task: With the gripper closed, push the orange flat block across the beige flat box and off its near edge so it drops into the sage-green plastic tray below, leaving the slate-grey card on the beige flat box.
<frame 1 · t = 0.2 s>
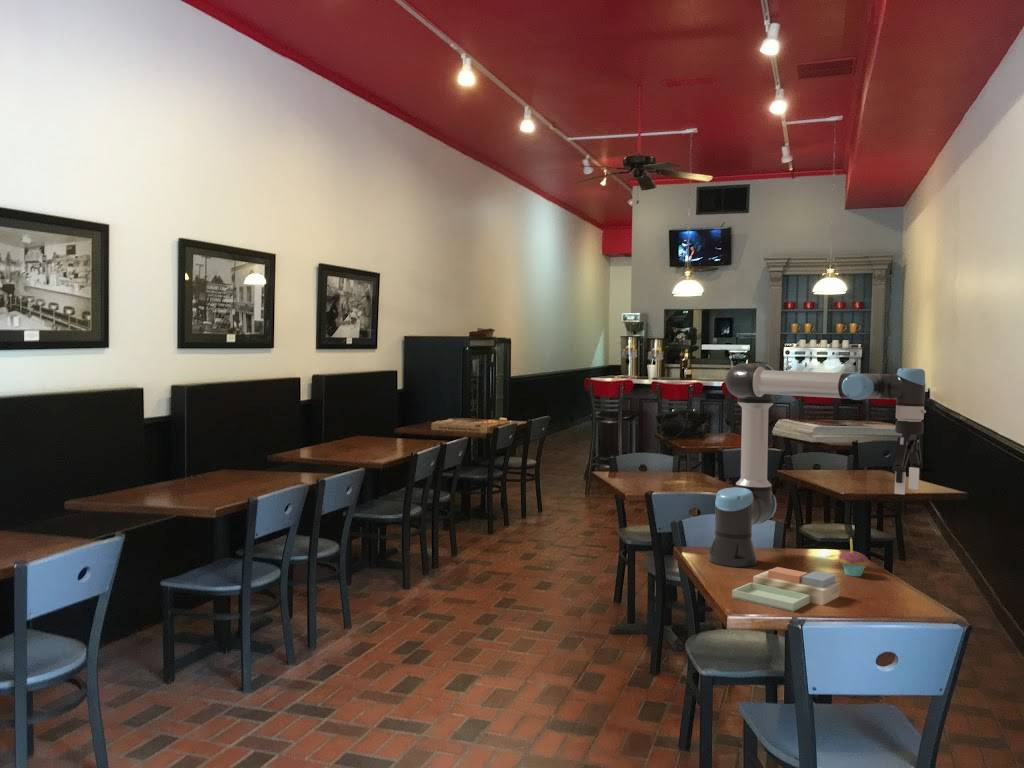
hand: (906, 491, 245), 28 cm above the table, fingers open, 13 cm apart
tray: (770, 600, 226), on the table
orange flat block: (787, 575, 234), point 5 cm above the table, touching beige flat box
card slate: (818, 579, 230), point 5 cm above the table, touching beige flat box
cupcake: (852, 575, 256), on the table
beige flat box: (795, 593, 233), on the table
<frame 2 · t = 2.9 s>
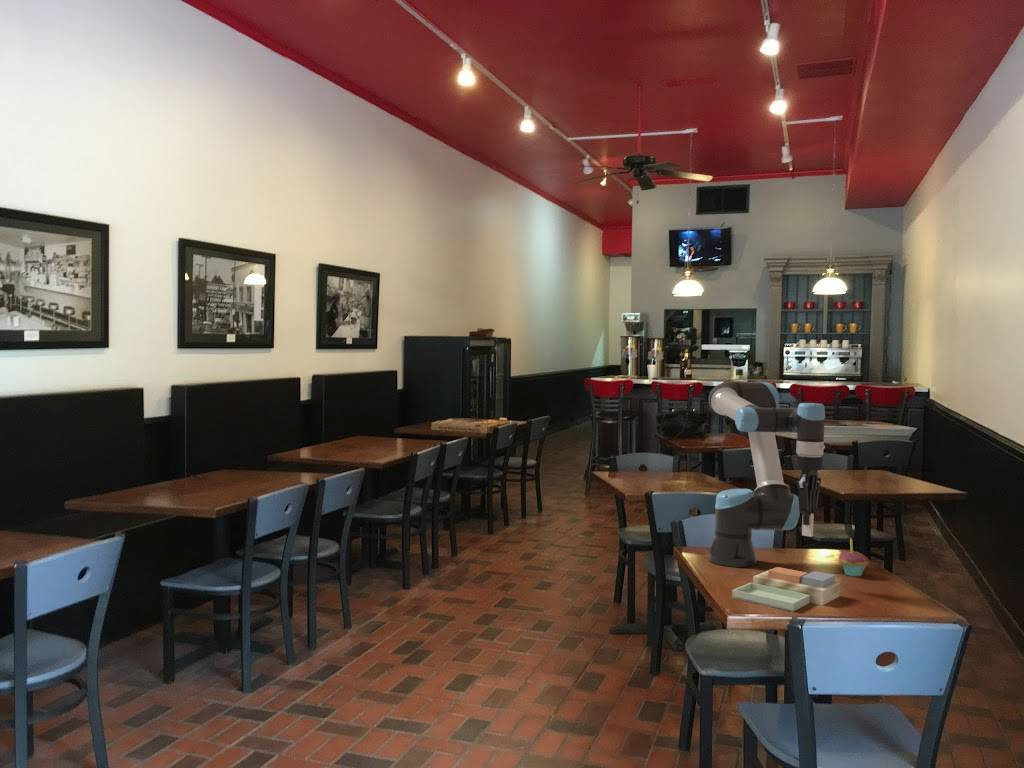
hand: (807, 535, 242), 14 cm above the table, fingers closed
nothing on the table moved.
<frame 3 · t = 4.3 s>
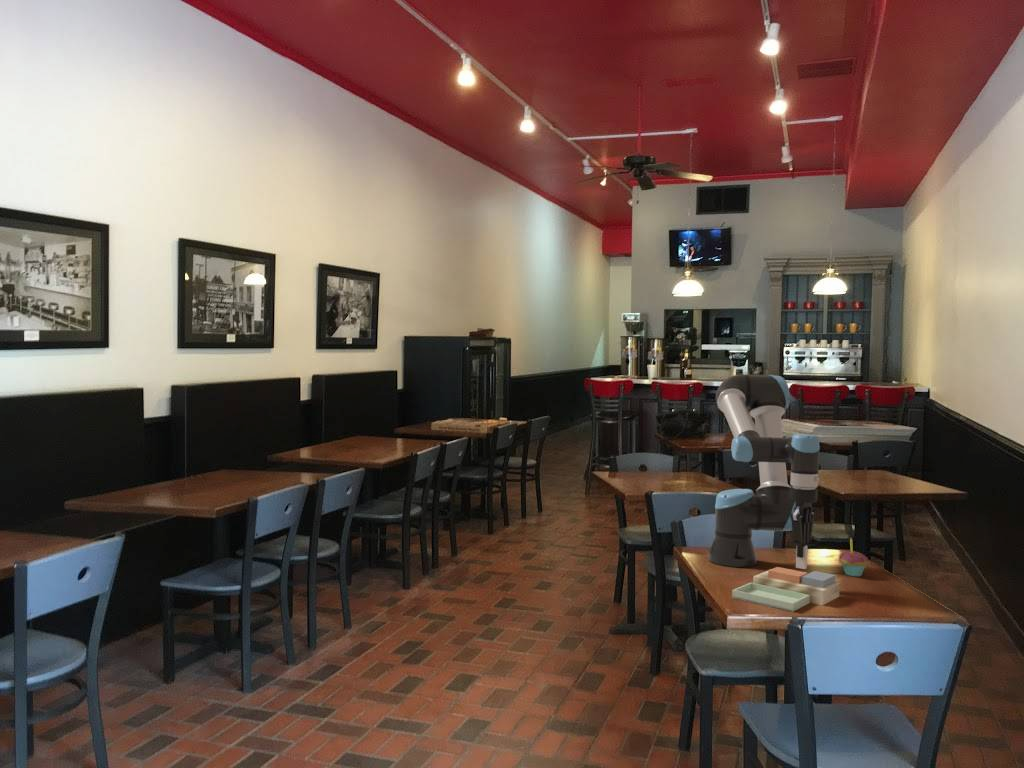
hand: (801, 567, 240), 5 cm above the table, fingers closed
nothing on the table moved.
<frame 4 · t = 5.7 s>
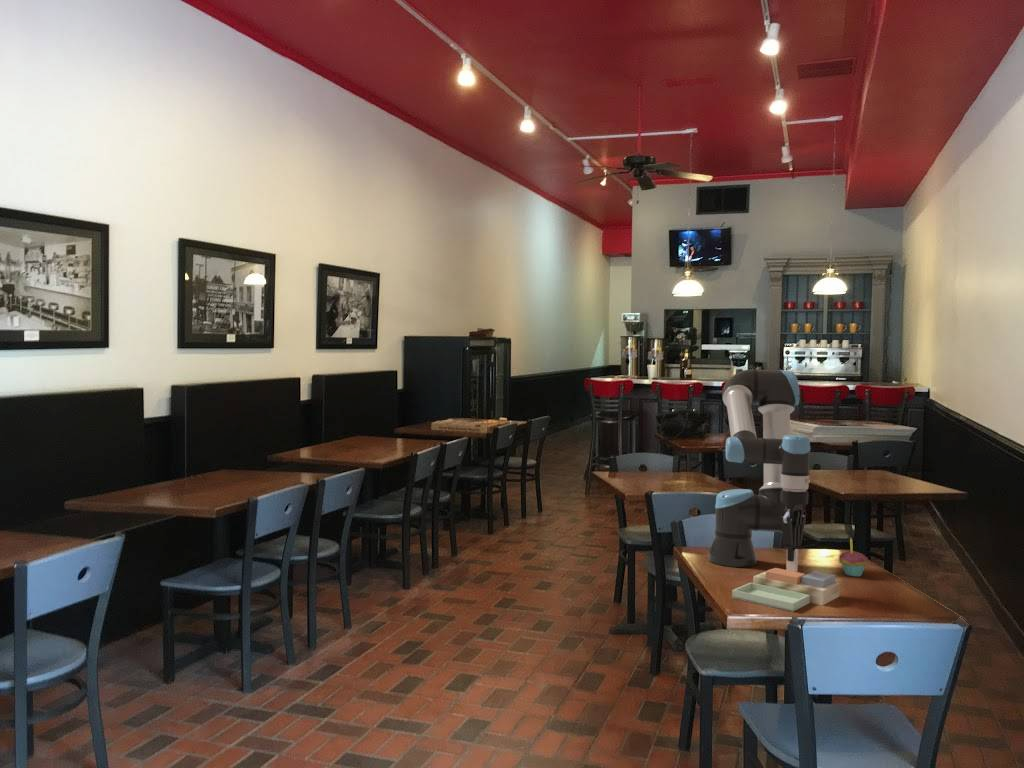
hand: (791, 571, 235), 6 cm above the table, fingers closed
orange flat block: (785, 576, 232), point 5 cm above the table, touching beige flat box
everything else where it was.
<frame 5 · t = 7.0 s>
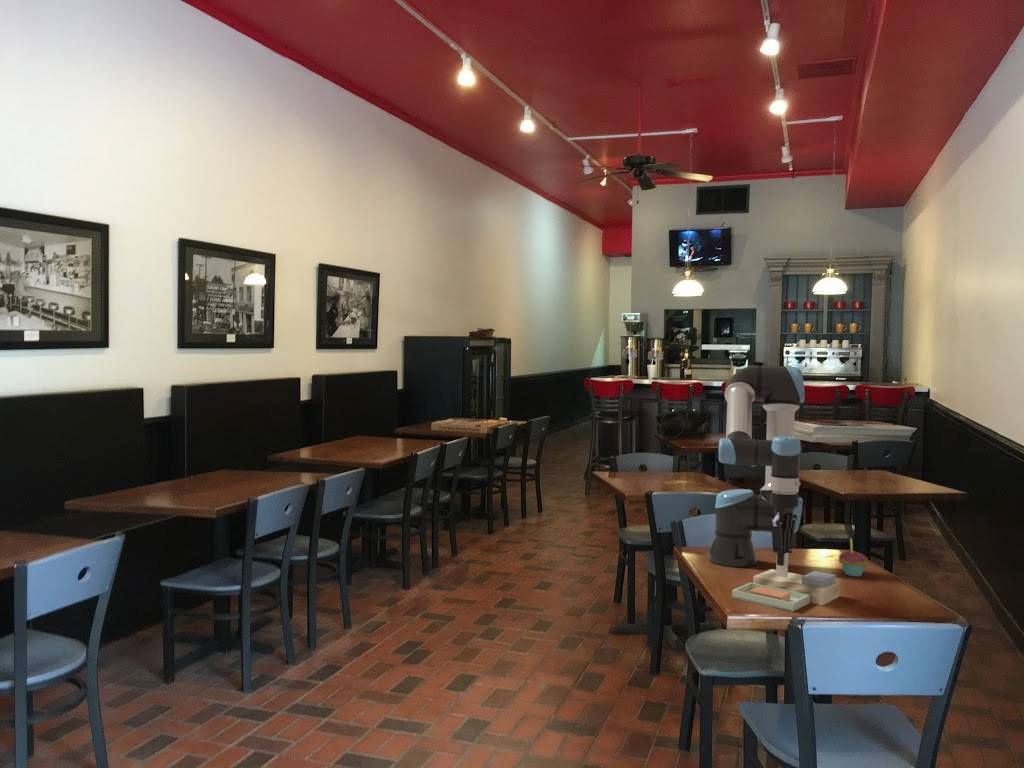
hand: (781, 576, 230), 6 cm above the table, fingers closed
orange flat block: (769, 595, 225), point 2 cm above the table, tilted 180°, touching tray
everything else where it was.
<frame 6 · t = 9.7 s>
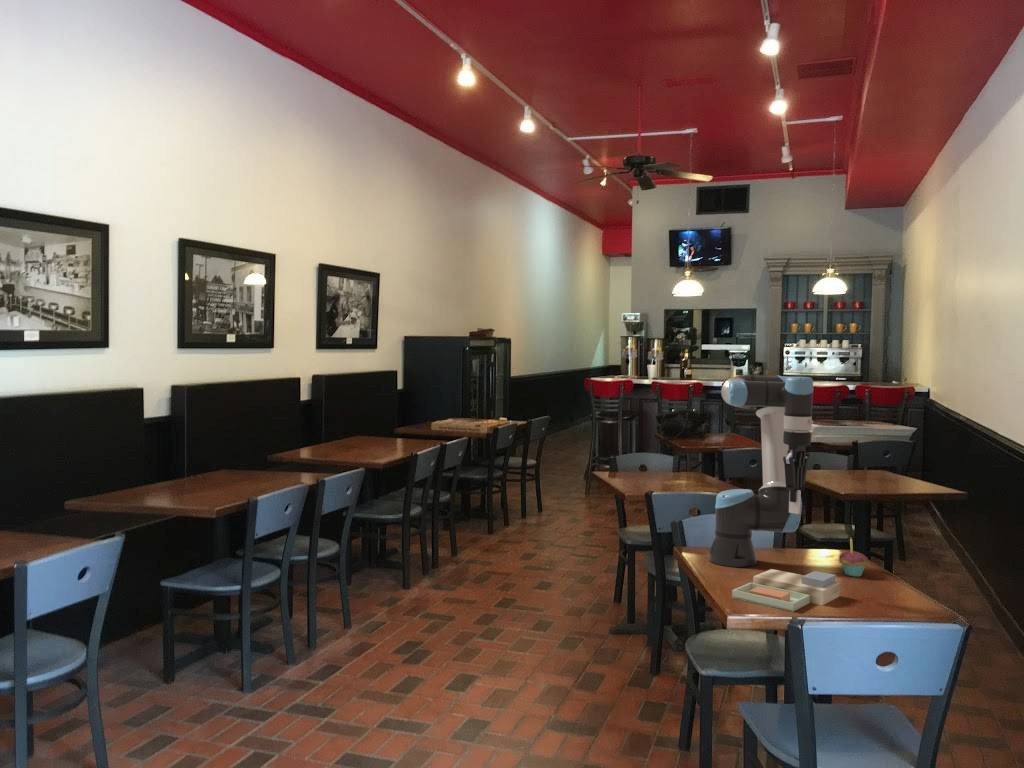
hand: (794, 512, 236), 22 cm above the table, fingers closed
nothing on the table moved.
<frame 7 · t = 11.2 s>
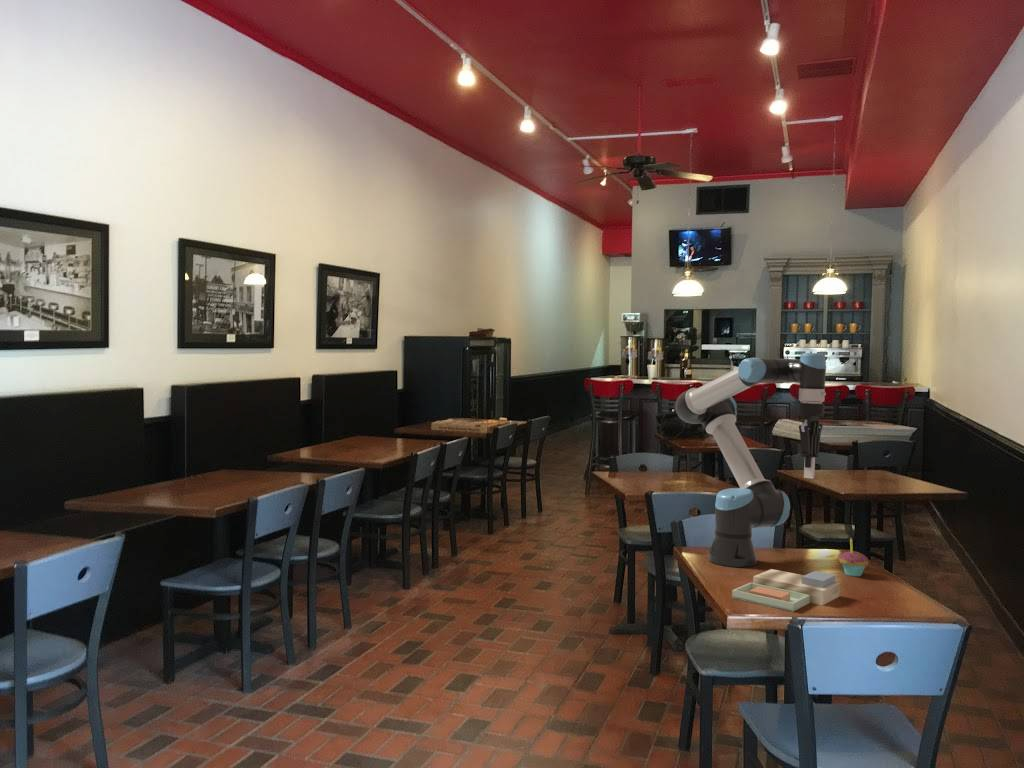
hand: (809, 477, 257), 29 cm above the table, fingers closed
nothing on the table moved.
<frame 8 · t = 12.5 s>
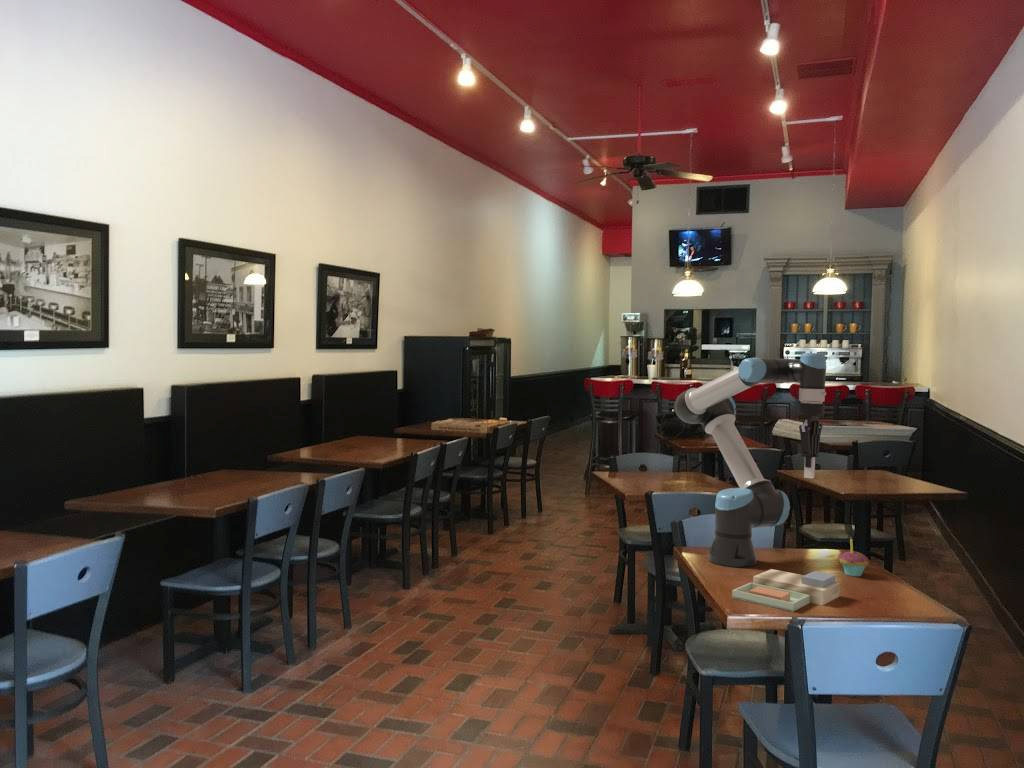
hand: (809, 477, 258), 29 cm above the table, fingers closed
nothing on the table moved.
at the end: orange flat block inside the target area on the tray (0.8 cm from its centre), point 1.6 cm above the tray's base; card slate moved 0.1 cm from its start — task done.
